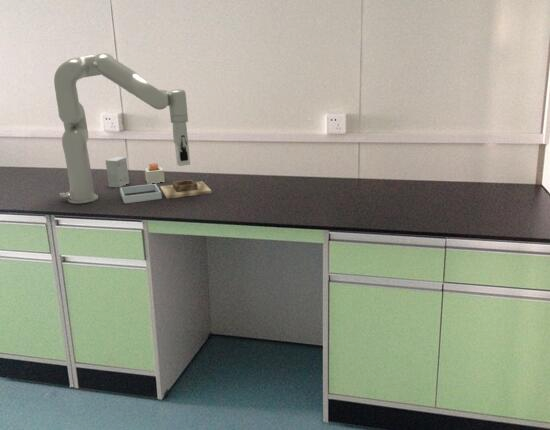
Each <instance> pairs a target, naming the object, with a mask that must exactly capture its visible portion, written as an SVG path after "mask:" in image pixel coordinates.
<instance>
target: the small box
mask: <svg viewBox="0 0 550 430" xmlns="http://www.w3.org/2000/svg"><path fill="white" fill-rule="evenodd" d="M104 161H105V168H106V173H107V181H108V187H109V188H118V187H119V189H120V188H122V187H125V186H127V185H129V184H130V178H129V170H128V168H129V167H128V161H127V157H126V156H125V157H124V156H115V157H111V158H108V159H105V160H104ZM126 184H127V185H126Z"/></svg>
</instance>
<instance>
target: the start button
mask: <svg viewBox="0 0 550 430" xmlns="http://www.w3.org/2000/svg"><path fill="white" fill-rule="evenodd" d="M158 167H159V164H158V163H155V162H154V163H149V167H148V168H150V171H155V170H158Z"/></svg>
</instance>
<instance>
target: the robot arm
mask: <svg viewBox="0 0 550 430" xmlns="http://www.w3.org/2000/svg"><path fill="white" fill-rule="evenodd" d="M94 76H103V77H105V79H107V80H109V81H111V82H112V83H114V84H116V85H118V86H119V87H121V88H122V89H124V90H125V91H126V92H128V93H130V94H131V95H133V96H135V97H136V98H138V99H139V100H141V102H144V103H146V104H147V105H149V106H150V107H152V108H154V109H155V110H160V111H161V110H164V109H166V108H167V107H169V116H170V119H169V120H170V123H171V124H172V135H173V136H172V137H173V138H172V139H173V143H174V145H175V144H176V145H177V146H179V145H180V151H181V152H180V159H181V161H187V160H188V154H187V147H186V145H187V144H188V145H189V139H188V138H189V136H188V128H187V123H188V122H189V116H188V115H189V114H188V103H187V94H186V91H185V89H181V88H180V89H171V90H169V89H168V90H164V89H158V88H156V87H155V86H153V85H152V84H151V83H149V82H147V80H145V79H144V78H143V77H141V76H140V74H138V72H136V71H135V70H133V69H131V68H130V67H128V66H126V65H125V64H124V63H122V62H120V61H119V60H117V59H116V58H114V57H113V56H112V55H111V54H109V53H107V52H105V53H103V52H102V53H98V54H94V55H93V54H92V55H85V56H79V57H73V58H69V59H68V60H65V61H64V62H62V63H61V64H60V65H59V66H58V67H57V69H56V71H55V74H54V77H53V78H54V79H53V83H54V84H53V85H54V91H55V98H56V105H57V110H58V117H59V118H60V121H61V122H62V123H63V127H64V132H63V133H62V137H61V143H62V150H63V153H64V159H65V165H66V171H67V177H68V183H69V191H67V192H60V193H59V197H60V198H62V199H66V198H67V200H68V201H67V202H68V203H70V204H76V205H77V204H79V205H80V204H87V203H91V202H95V201H98V199H99V195H98V194H96V193H95V190H94V183H93V176H92V169H91V162H90V155H89V150H88V145H87V143H88V140H89V131H88V130H89V129H88V124H87V117H86V112H85V109H84V106H83V105H82V103H81V102H80V100H79V96H78V94H79V93H78V88H77V82H78V81H79V80H81V79H83V78H89V77H94ZM186 142H187V143H186ZM181 144H183V145H181ZM181 146H183V147H181Z"/></svg>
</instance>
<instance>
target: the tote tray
mask: <svg viewBox="0 0 550 430" xmlns="http://www.w3.org/2000/svg"><path fill="white" fill-rule="evenodd" d="M153 191H154V192H153ZM146 192H147V193H146ZM148 192H149V193H148ZM119 193H120V197H121V199H122V202H123V204H124V203H125V204H132V203H139V202H140V203H141V202H149V201H154V200H155V201H156V200H161V199H162V198H163V197H162V191H161V189H160V187H159V186H158V184H157V183H155V184H148V183H147V184H141V185H132V186H122V187H120V188H119ZM135 193H138V194H135ZM128 194H130V195H128ZM131 194H132V195H131Z"/></svg>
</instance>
